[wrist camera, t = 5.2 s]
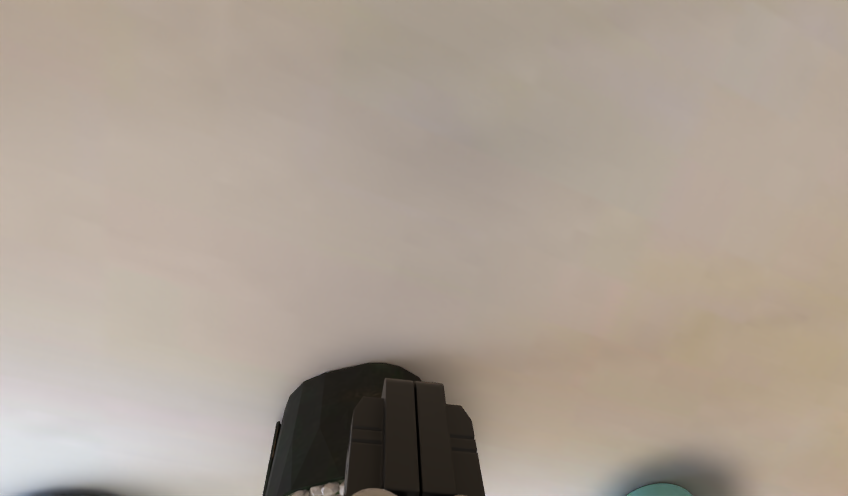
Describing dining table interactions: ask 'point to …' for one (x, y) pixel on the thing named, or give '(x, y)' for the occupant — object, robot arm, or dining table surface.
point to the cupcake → (660, 490)
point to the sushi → (322, 430)
